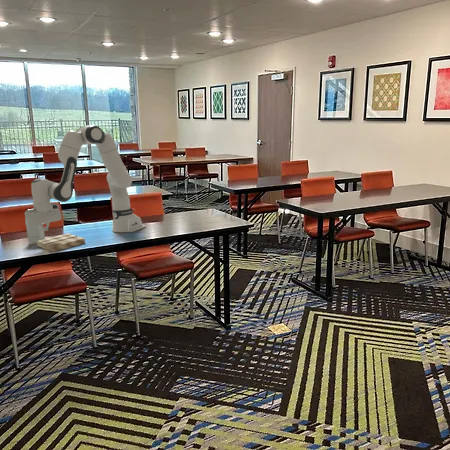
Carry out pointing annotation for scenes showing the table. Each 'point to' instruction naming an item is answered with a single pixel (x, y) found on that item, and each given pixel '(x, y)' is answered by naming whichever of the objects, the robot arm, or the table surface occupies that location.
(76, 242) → the laid board
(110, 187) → the robot arm
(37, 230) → the supplement box
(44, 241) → the tan quilted pad
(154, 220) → the table surface
